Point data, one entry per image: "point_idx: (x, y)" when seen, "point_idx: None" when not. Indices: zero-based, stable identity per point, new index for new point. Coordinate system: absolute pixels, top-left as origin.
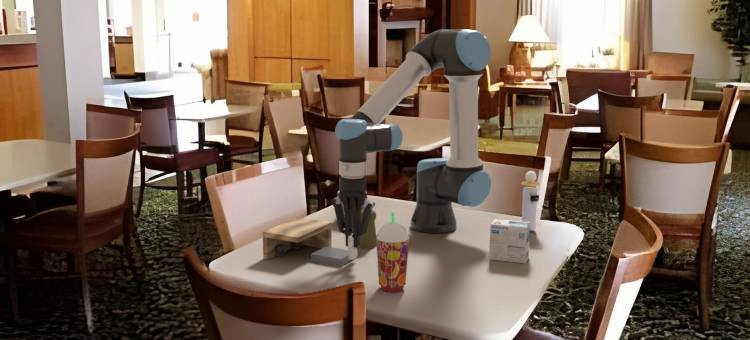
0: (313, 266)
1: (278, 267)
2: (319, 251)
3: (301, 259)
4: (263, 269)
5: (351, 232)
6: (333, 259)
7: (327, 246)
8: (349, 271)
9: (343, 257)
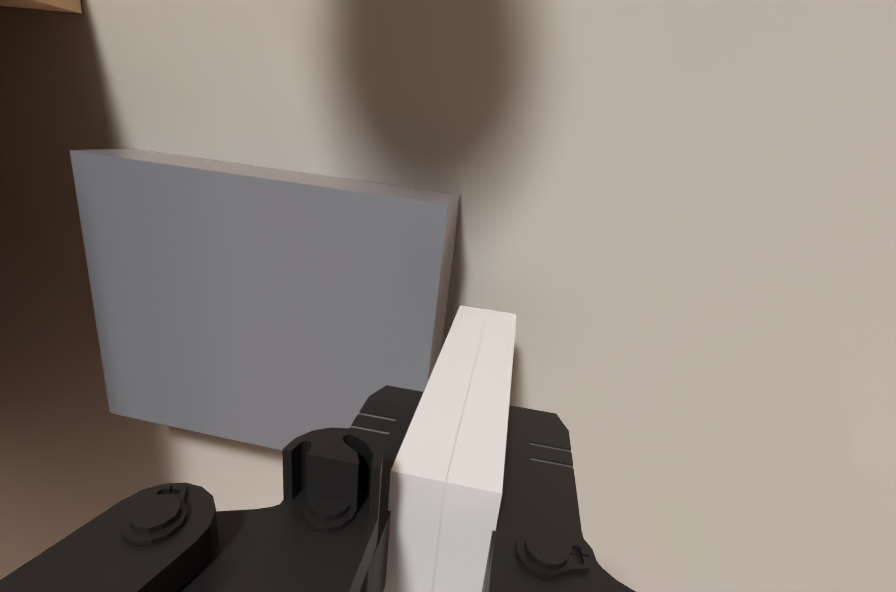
0: (246, 488)
1: None
2: (124, 331)
3: (84, 375)
4: None
5: (372, 557)
6: None
7: (36, 4)
8: None
9: None
